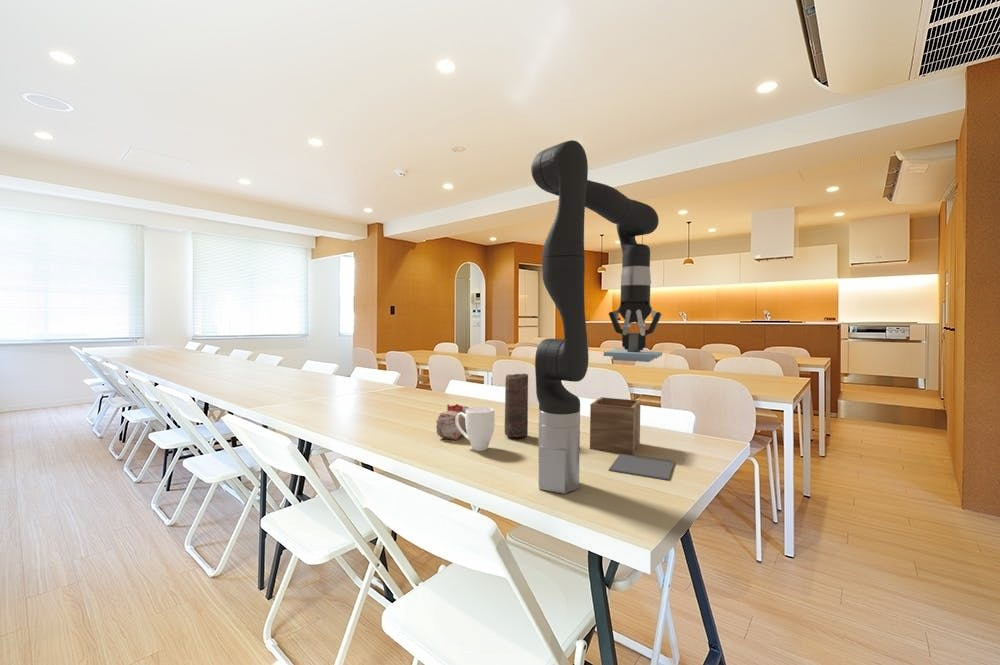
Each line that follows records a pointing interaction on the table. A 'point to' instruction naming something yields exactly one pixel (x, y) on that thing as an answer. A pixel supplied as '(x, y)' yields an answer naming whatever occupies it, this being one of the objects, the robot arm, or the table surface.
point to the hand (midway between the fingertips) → (633, 349)
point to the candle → (516, 405)
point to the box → (615, 425)
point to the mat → (643, 466)
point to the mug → (478, 426)
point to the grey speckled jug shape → (451, 422)
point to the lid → (633, 351)
